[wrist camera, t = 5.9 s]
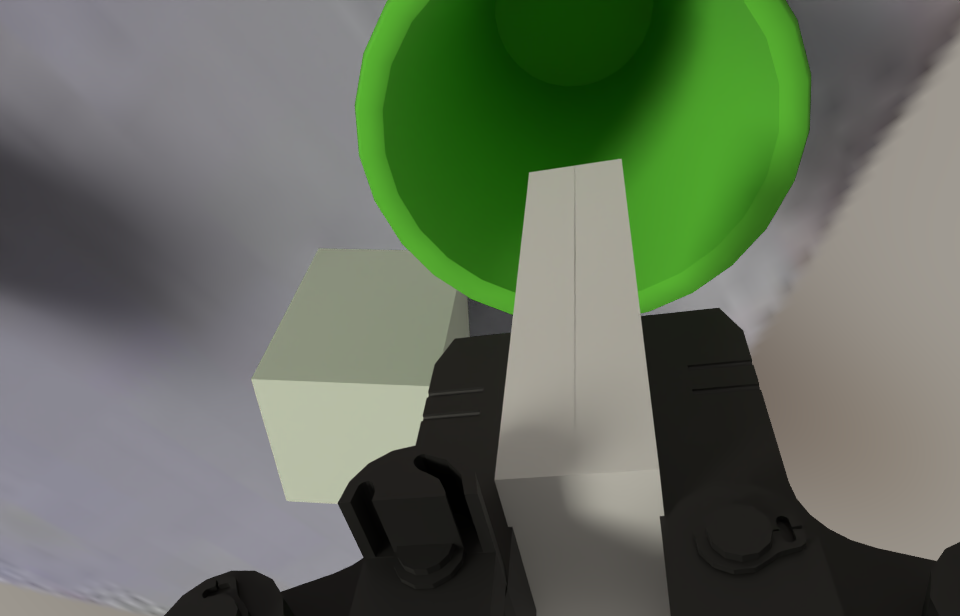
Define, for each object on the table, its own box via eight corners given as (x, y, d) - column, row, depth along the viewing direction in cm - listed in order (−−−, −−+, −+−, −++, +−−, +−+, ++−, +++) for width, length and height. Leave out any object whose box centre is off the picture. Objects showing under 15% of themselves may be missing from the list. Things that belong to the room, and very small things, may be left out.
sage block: (340, 360, 34) (286, 501, 27) (318, 248, 30) (251, 378, 24) (471, 365, 33) (447, 509, 27) (464, 251, 30) (435, 386, 23)
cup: (376, 8, 24) (267, 149, 16) (581, -246, 20) (590, -250, 11) (567, 184, 27) (565, 385, 19) (780, -2, 23) (911, 147, 14)
